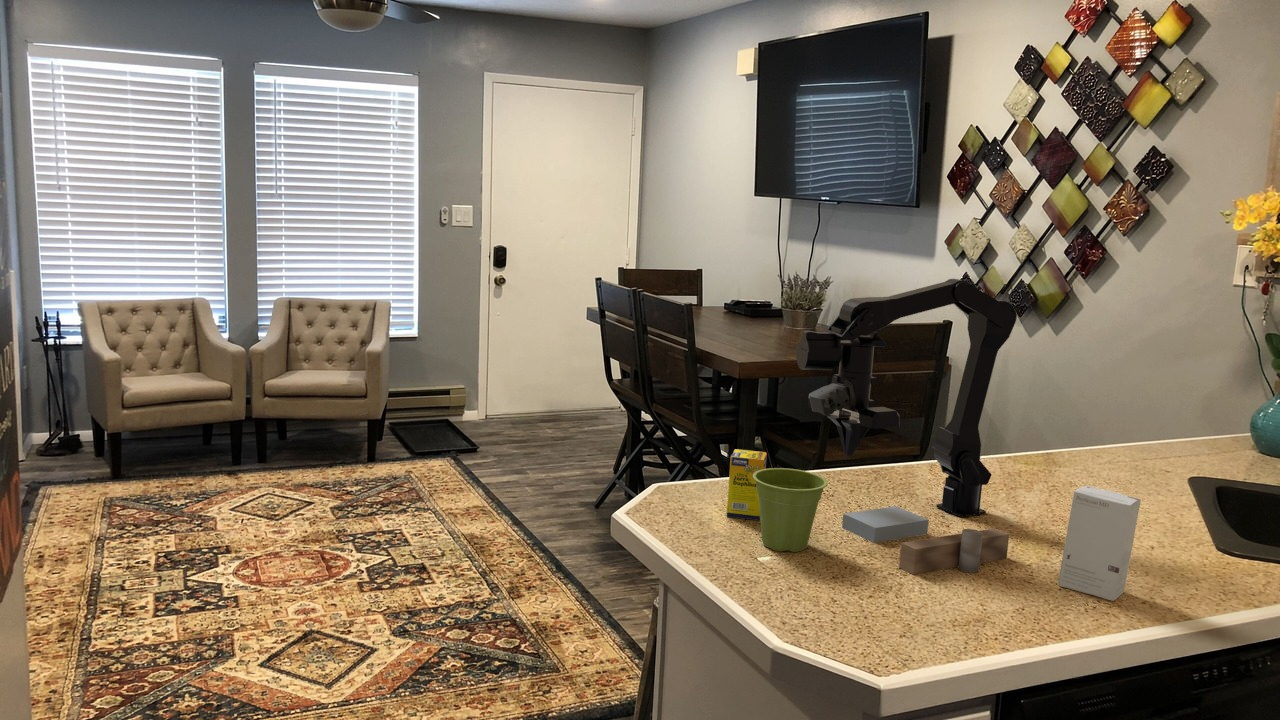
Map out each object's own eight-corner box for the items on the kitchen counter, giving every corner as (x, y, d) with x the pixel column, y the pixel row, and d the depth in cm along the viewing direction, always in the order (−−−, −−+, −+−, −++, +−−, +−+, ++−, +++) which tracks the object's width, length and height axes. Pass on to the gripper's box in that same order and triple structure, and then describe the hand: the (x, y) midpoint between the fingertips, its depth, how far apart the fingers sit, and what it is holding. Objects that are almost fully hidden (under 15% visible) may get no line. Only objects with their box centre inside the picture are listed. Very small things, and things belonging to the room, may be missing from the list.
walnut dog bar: (992, 551, 162) (996, 516, 161) (1021, 564, 157) (1025, 528, 156) (899, 567, 152) (902, 530, 151) (927, 581, 147) (931, 542, 146)
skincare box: (1057, 586, 148) (1069, 490, 146) (1070, 576, 152) (1081, 483, 150) (1117, 603, 143) (1130, 503, 140) (1128, 592, 147) (1141, 495, 145)
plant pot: (739, 550, 156) (744, 481, 155) (758, 528, 167) (763, 464, 166) (813, 563, 152) (819, 493, 150) (828, 540, 163) (834, 474, 161)
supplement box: (760, 521, 172) (764, 459, 170) (725, 517, 173) (730, 456, 171) (763, 511, 177) (767, 451, 176) (729, 507, 179) (733, 448, 177)
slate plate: (894, 522, 176) (895, 506, 176) (927, 536, 169) (928, 519, 169) (841, 530, 170) (843, 513, 170) (873, 545, 163) (875, 528, 163)
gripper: (786, 363, 179) (780, 447, 182) (854, 382, 163) (846, 473, 166) (835, 361, 185) (828, 442, 187) (905, 379, 168) (897, 468, 171)
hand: (848, 456), depth 178 cm, fingers closed
